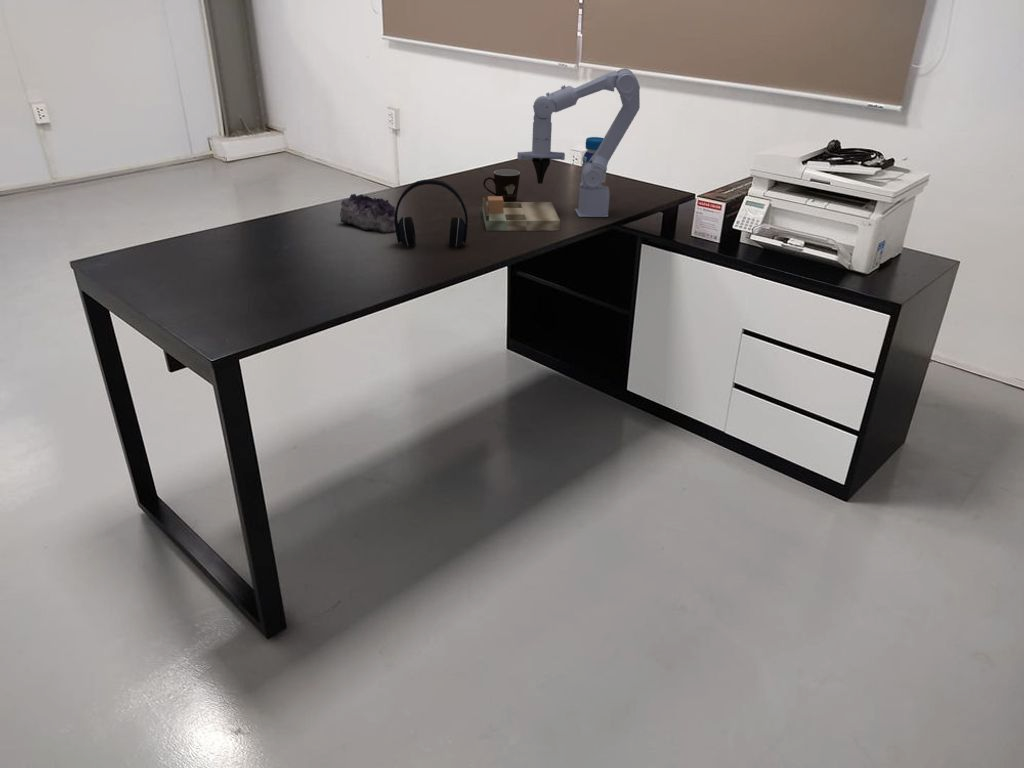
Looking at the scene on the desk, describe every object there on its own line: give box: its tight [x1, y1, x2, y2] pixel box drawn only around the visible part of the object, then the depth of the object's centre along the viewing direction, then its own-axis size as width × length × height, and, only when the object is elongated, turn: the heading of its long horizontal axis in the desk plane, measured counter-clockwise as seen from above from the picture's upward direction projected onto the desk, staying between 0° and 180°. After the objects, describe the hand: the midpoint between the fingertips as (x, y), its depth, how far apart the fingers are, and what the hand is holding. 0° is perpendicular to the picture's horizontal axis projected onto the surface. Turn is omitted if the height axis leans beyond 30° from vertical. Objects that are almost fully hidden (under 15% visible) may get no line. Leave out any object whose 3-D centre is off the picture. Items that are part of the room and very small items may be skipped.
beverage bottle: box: [580, 136, 608, 186], centre depth 257 cm, size 8×8×20 cm
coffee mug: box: [482, 168, 521, 202], centre depth 253 cm, size 12×9×10 cm
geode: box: [339, 193, 396, 235], centre depth 228 cm, size 20×12×10 cm, turn 55°
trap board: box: [482, 197, 561, 232], centre depth 237 cm, size 22×20×4 cm
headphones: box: [395, 178, 469, 248], centre depth 211 cm, size 20×7×18 cm, turn 93°
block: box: [487, 195, 503, 213], centre depth 235 cm, size 4×4×4 cm
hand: (539, 182), depth 242 cm, fingers closed
